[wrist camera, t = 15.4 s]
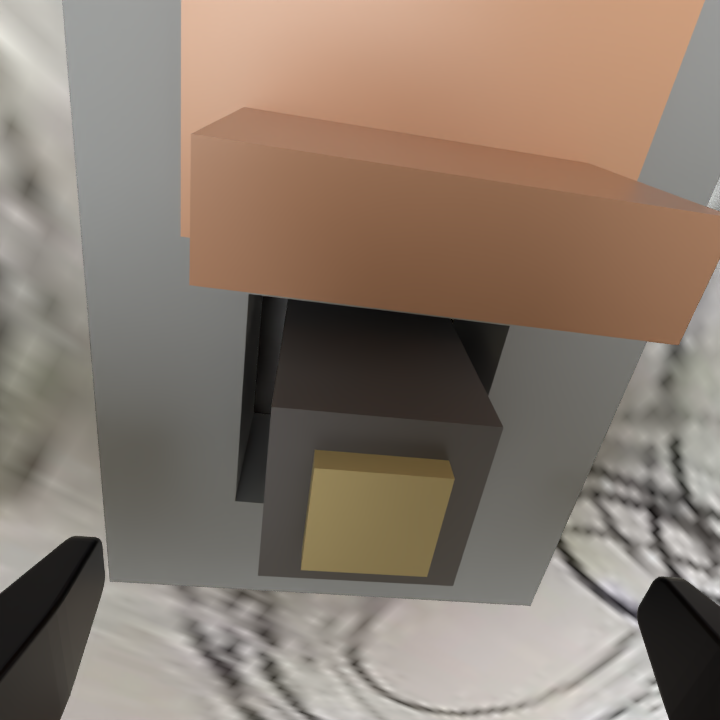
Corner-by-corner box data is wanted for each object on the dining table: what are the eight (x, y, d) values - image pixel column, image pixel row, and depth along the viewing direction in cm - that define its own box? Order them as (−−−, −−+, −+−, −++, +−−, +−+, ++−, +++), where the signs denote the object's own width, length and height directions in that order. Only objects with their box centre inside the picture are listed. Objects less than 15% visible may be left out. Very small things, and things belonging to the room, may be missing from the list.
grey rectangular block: (408, 403, 18) (458, 607, 11) (282, 391, 17) (254, 597, 10) (433, 285, 16) (511, 444, 9) (292, 269, 15) (268, 424, 9)
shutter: (583, 280, 11) (724, 399, 7) (188, 227, 10) (100, 330, 6) (712, -78, 9) (1055, -205, 5) (191, -196, 8) (41, -487, 4)
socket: (493, 509, 20) (530, 605, 16) (151, 482, 18) (109, 581, 15) (679, -18, 12) (819, -50, 9) (133, -133, 11) (43, -224, 8)
